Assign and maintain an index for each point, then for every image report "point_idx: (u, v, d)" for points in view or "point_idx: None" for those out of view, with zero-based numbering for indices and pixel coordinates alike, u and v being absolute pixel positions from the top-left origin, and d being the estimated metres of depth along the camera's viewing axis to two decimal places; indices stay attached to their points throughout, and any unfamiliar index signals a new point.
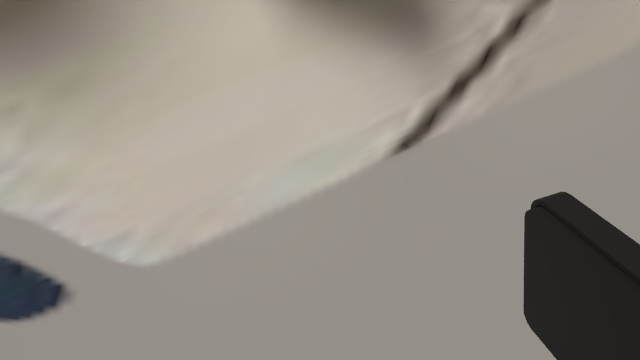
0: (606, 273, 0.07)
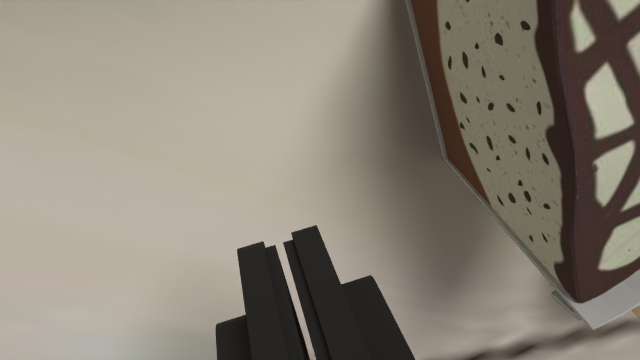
0: (304, 307, 0.08)
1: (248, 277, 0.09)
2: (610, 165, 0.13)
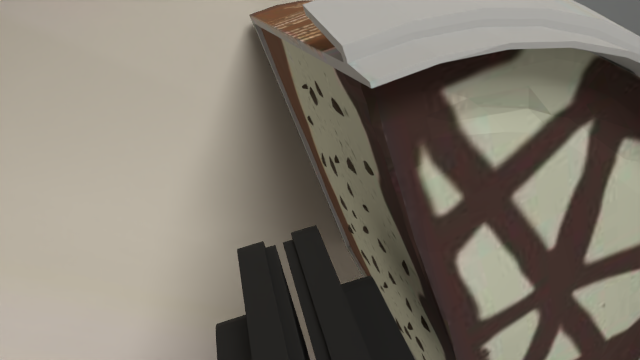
0: (304, 307, 0.08)
1: (248, 277, 0.09)
2: (506, 343, 0.09)
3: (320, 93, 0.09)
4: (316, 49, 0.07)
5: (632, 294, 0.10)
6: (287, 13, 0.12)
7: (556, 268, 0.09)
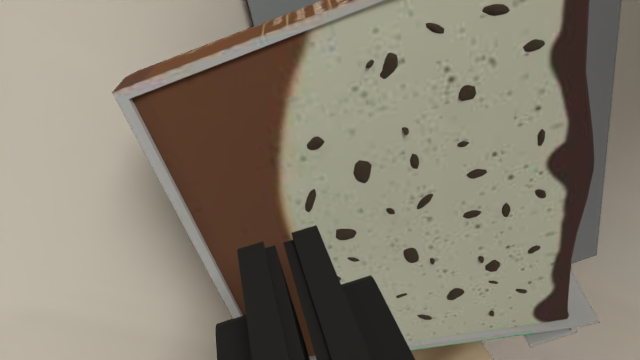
0: (304, 307, 0.08)
1: (248, 277, 0.09)
2: None
3: (442, 28, 0.09)
4: None
5: None
6: (246, 33, 0.10)
7: None
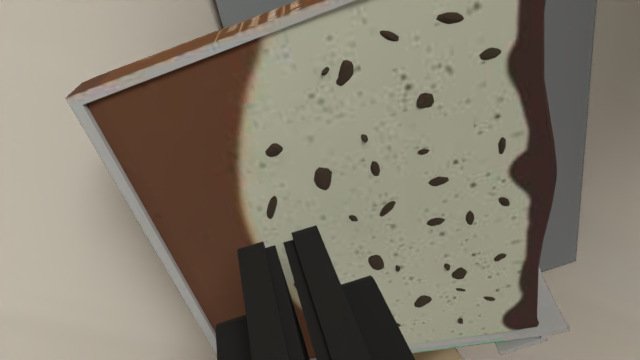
0: (304, 307, 0.08)
1: (248, 277, 0.09)
2: None
3: (396, 36, 0.09)
4: None
5: None
6: (201, 39, 0.10)
7: None
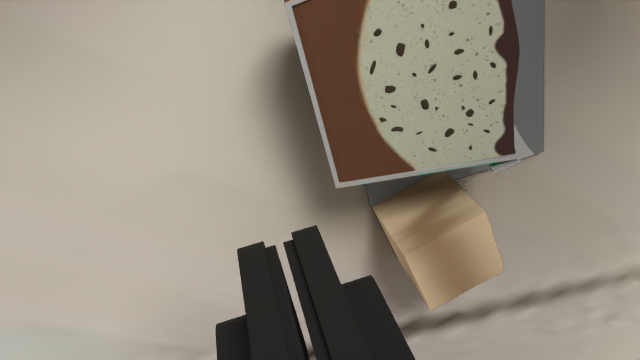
0: (304, 307, 0.08)
1: (248, 277, 0.09)
2: None
3: None
4: None
5: None
6: None
7: None
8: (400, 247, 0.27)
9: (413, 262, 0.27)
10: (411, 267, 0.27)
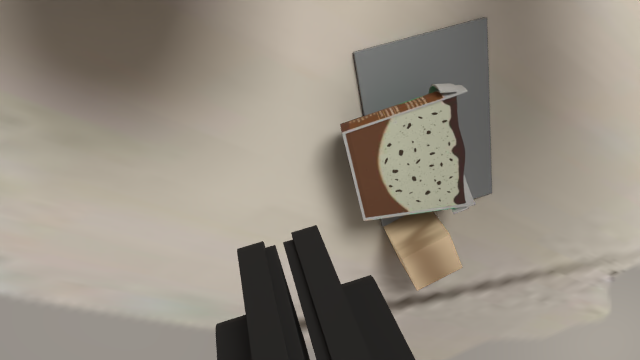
0: (304, 307, 0.08)
1: (248, 277, 0.09)
2: None
3: (422, 117, 0.39)
4: (439, 99, 0.38)
5: None
6: (374, 117, 0.39)
7: None
8: (399, 253, 0.47)
9: (406, 262, 0.46)
10: (405, 265, 0.47)
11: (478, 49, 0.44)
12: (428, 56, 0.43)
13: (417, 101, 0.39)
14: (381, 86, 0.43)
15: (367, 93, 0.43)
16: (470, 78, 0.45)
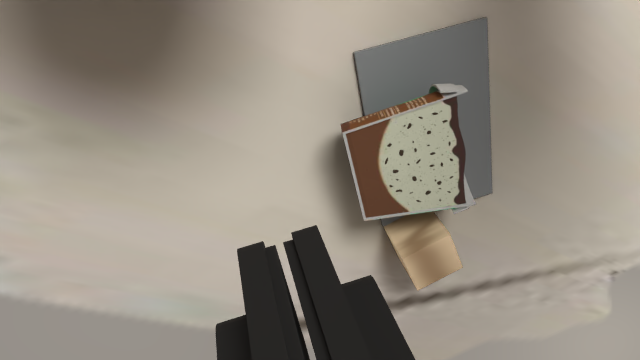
0: (304, 307, 0.08)
1: (248, 277, 0.09)
2: None
3: (422, 117, 0.39)
4: (439, 99, 0.38)
5: None
6: (374, 118, 0.39)
7: None
8: (399, 253, 0.47)
9: (407, 262, 0.46)
10: (406, 265, 0.47)
11: (478, 49, 0.44)
12: (428, 56, 0.43)
13: (417, 101, 0.39)
14: (381, 86, 0.43)
15: (367, 93, 0.43)
16: (470, 78, 0.45)
